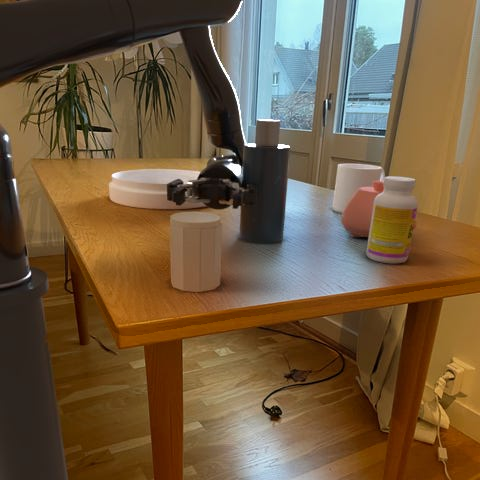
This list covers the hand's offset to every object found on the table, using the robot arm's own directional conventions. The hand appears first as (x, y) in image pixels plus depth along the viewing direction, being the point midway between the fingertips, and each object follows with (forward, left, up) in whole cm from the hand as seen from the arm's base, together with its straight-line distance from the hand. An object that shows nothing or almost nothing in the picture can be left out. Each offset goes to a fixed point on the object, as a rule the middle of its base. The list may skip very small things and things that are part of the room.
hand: (206, 200), depth 70 cm
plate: (0, +51, -9) cm, 52 cm away
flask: (+13, +12, -9) cm, 20 cm away
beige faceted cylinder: (-3, -10, -9) cm, 14 cm away
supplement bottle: (+30, -3, -9) cm, 31 cm away
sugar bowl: (+36, +11, -9) cm, 39 cm away
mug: (+44, +34, -9) cm, 56 cm away
